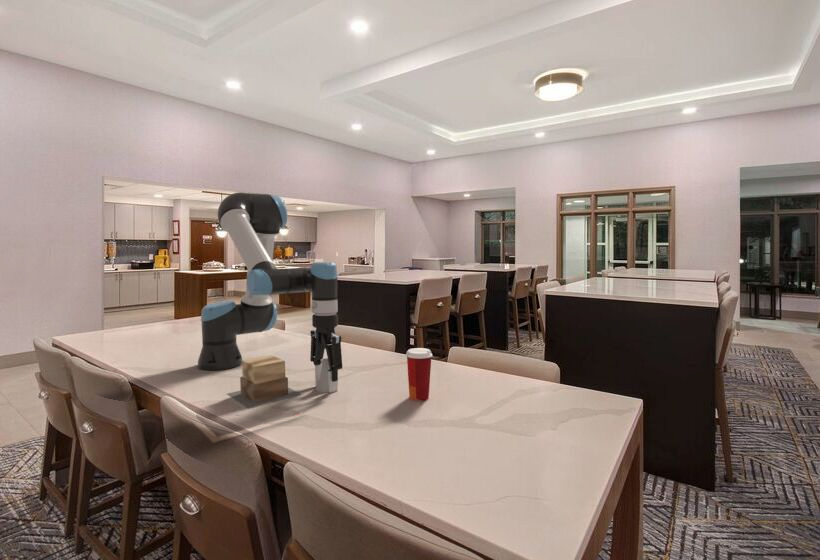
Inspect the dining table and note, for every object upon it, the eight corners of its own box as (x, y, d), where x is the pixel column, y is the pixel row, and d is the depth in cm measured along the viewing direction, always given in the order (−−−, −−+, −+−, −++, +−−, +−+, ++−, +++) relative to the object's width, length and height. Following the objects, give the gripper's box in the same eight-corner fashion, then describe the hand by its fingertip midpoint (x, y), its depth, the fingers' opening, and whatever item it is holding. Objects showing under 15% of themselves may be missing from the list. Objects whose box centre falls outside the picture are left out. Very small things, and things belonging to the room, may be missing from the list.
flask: (333, 396, 128) (332, 363, 127) (310, 394, 129) (309, 362, 128) (341, 388, 135) (341, 357, 134) (320, 387, 136) (319, 356, 135)
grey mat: (226, 397, 127) (226, 393, 127) (277, 385, 138) (277, 382, 138) (248, 412, 116) (248, 408, 116) (302, 397, 126) (302, 394, 126)
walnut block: (240, 393, 127) (240, 377, 127) (273, 386, 134) (272, 370, 134) (254, 402, 120) (254, 385, 119) (288, 394, 127) (287, 377, 126)
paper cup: (435, 394, 129) (435, 348, 128) (427, 403, 122) (427, 354, 121) (410, 392, 131) (410, 346, 130) (401, 400, 124) (401, 352, 123)
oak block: (242, 377, 127) (242, 360, 126) (271, 371, 133) (271, 355, 132) (255, 384, 120) (254, 366, 120) (285, 377, 126) (285, 360, 126)
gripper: (297, 311, 135) (299, 383, 137) (332, 319, 120) (333, 399, 122) (318, 308, 140) (320, 378, 142) (354, 316, 125) (355, 393, 127)
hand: (326, 388), depth 132 cm, fingers closed on flask, 7 cm apart
